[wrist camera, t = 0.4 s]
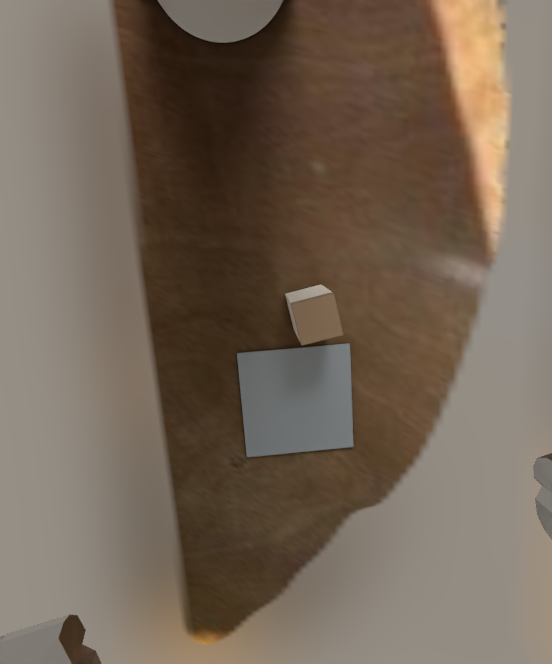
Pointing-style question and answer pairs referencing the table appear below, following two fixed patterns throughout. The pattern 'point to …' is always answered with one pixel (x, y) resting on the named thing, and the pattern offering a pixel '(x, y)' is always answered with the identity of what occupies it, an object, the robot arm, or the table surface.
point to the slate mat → (296, 399)
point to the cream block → (314, 314)
